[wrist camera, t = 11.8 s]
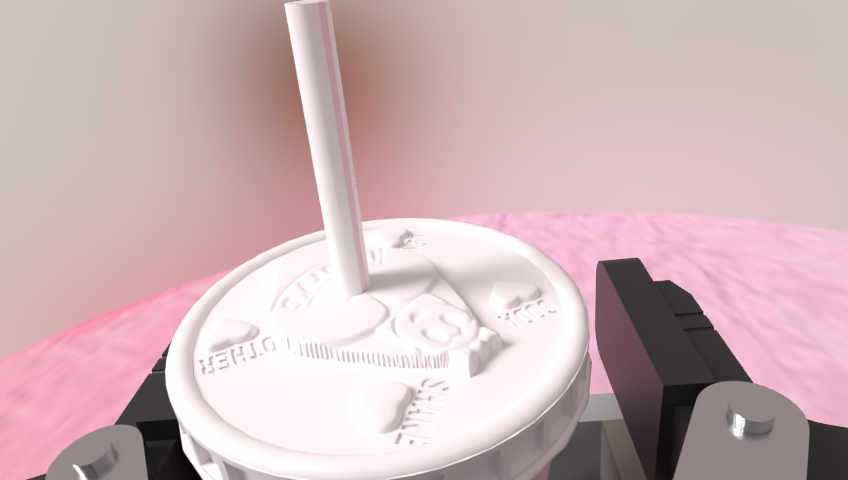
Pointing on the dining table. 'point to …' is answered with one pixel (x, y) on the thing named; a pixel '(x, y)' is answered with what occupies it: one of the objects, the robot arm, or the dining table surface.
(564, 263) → the dining table surface
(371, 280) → the smoothie
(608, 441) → the collar board
